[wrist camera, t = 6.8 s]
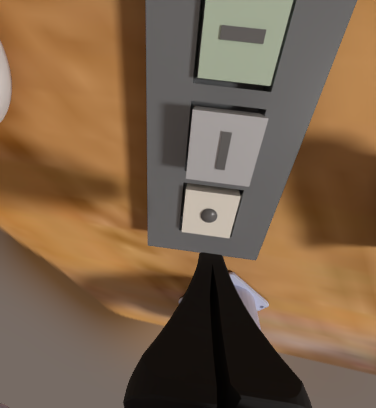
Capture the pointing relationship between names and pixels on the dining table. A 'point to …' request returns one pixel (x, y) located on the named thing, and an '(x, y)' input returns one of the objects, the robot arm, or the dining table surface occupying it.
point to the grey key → (224, 145)
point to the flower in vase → (4, 83)
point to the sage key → (242, 40)
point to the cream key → (210, 210)
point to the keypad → (232, 100)
